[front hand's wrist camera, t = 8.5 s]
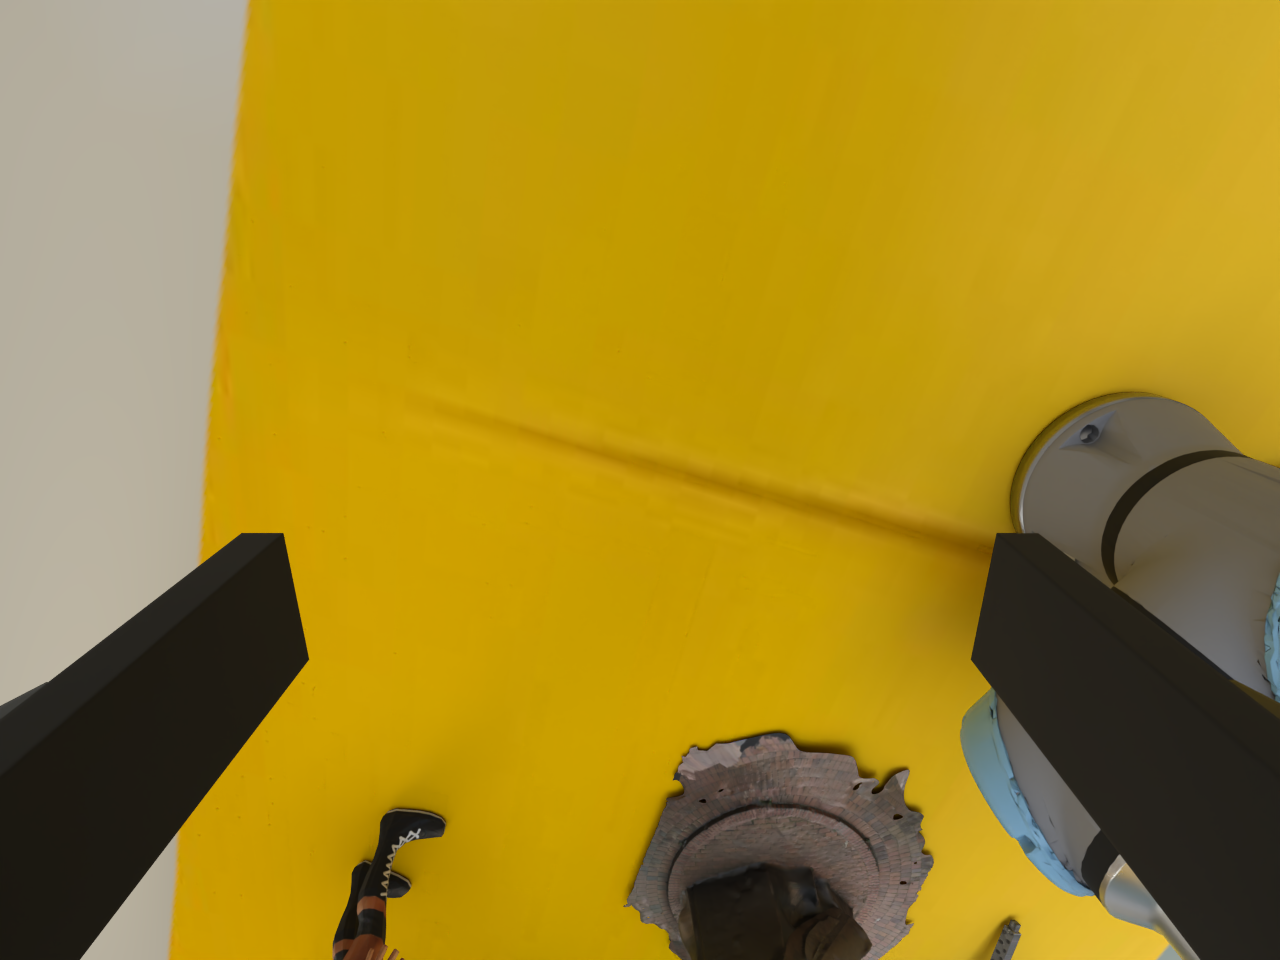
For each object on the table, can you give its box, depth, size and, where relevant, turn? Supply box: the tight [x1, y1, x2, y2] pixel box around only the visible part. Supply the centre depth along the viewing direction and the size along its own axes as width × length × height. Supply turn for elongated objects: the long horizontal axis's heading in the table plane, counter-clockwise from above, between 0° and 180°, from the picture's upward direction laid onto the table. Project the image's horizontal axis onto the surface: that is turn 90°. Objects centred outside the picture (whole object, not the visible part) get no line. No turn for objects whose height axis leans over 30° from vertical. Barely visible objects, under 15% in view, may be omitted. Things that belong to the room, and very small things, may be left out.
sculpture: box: [623, 733, 934, 960], centre depth 61 cm, size 33×35×16 cm
